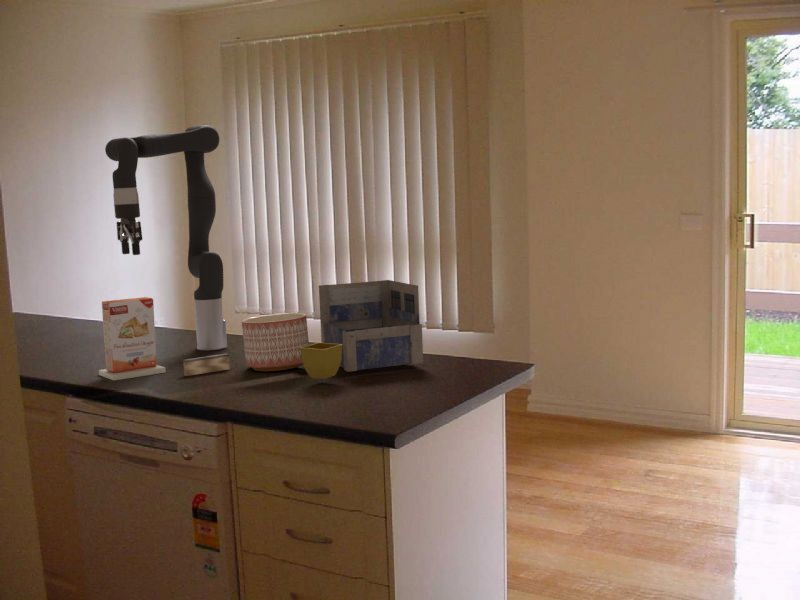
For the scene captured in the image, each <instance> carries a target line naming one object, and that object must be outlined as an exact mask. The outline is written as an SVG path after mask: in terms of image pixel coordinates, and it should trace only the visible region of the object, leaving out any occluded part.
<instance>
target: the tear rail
mask: <svg viewBox="0 0 800 600" xmlns="http://www.w3.org/2000/svg"><path fill="white" fill-rule="evenodd" d="M182 362H183V363H182V364H183V375H184V376H185V377H189V376H195V375H200V374H201V375H202V374H208V373H213V372H221V371H226V370H227V371H228V370H230V369H231V366H230V354H229V353H221V354H214V355H213V354H212V355H207V356H201V357H195V358H186V359H182Z"/></svg>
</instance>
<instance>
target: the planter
mask: <svg viewBox="0 0 800 600" xmlns="http://www.w3.org/2000/svg"><path fill="white" fill-rule="evenodd" d="M241 329H242V340H243V348H244V357H245V365H246V366H247V367H248V368H252V369H253V371H257V372H275V371H276V372H278V371H284V370H285V371H286V370H291V369H295V368H300V367H302V366H304V365H303V361H302V356H301V350H300V348H301V347H304V346H308V345H310V342H309V341H310V340H309V330H308V321H307V314H306V313H304V312H287V313H286V312H285V313H273V314H265V315H264V314H263V315H257V316H253V317H247V318H244V319H243V320H241Z"/></svg>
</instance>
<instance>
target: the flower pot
mask: <svg viewBox="0 0 800 600" xmlns="http://www.w3.org/2000/svg"><path fill="white" fill-rule="evenodd" d="M300 350H301V356H302V361H303V365H302V366H304V369H305V372H306V373H307V374H308V376H309V377H310V378H312V379H322V380H325V379H328V378H332V377H334V376H336V374H337V373H338V371H339V369H340V363H341V356H342V344H333V343H322V342H316V343H313V344H309V345H308V346H304V347H301V348H300Z"/></svg>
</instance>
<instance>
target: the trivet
mask: <svg viewBox="0 0 800 600" xmlns="http://www.w3.org/2000/svg"><path fill="white" fill-rule="evenodd" d="M166 372H167V370H166V366H161V365H159V364H157V366H153V367H147V368H140V369H134V370H127V371H121V372H115V373H114V372H111V371H107V370H106V368H104V369H98V375H99V376H101V377H103V378H105V379H109V380H111V381H118V380H119V381H120V380H125V379H132V378H139V377H144V376H152V375H159V374H164V373H166Z"/></svg>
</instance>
